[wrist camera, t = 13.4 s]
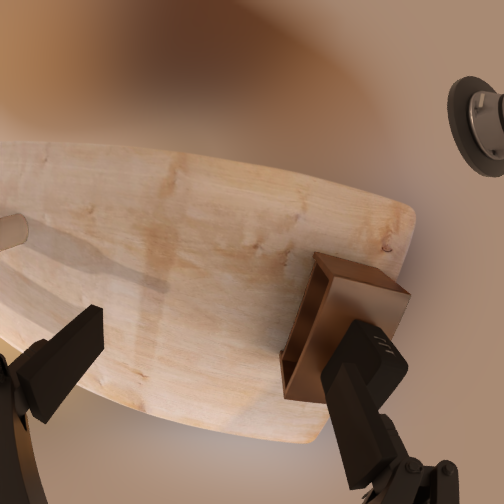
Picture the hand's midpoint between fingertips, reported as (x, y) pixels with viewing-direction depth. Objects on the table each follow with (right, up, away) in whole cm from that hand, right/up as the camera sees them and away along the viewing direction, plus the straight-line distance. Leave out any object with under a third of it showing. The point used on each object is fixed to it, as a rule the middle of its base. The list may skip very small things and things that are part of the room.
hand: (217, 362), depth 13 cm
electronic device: (+15, -8, +21) cm, 27 cm away
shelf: (+15, -5, +33) cm, 36 cm away
